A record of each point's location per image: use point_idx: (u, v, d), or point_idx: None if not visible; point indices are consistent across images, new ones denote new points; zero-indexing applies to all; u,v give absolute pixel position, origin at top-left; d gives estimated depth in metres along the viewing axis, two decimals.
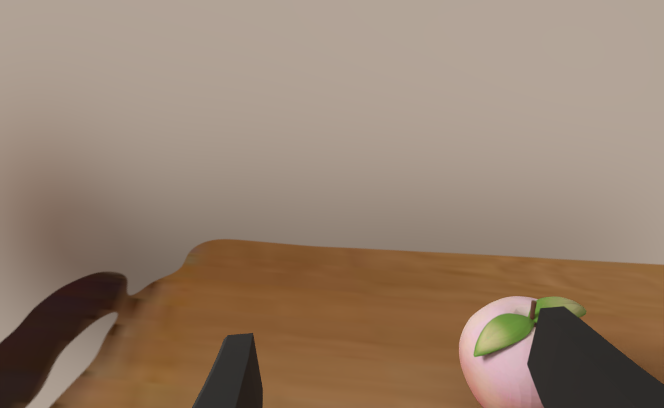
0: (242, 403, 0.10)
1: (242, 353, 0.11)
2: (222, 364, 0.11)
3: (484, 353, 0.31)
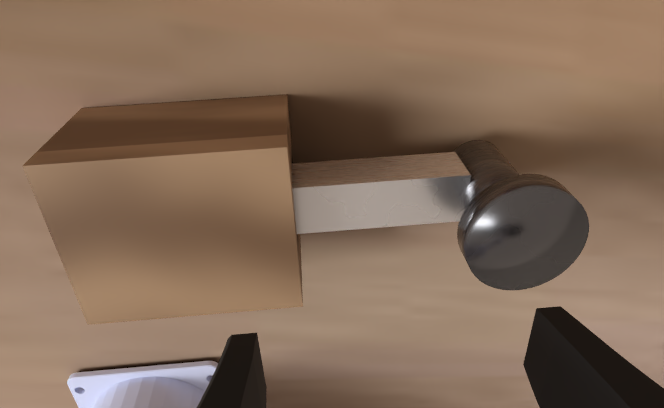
0: (246, 403, 0.10)
1: (246, 353, 0.11)
2: (226, 364, 0.11)
3: None
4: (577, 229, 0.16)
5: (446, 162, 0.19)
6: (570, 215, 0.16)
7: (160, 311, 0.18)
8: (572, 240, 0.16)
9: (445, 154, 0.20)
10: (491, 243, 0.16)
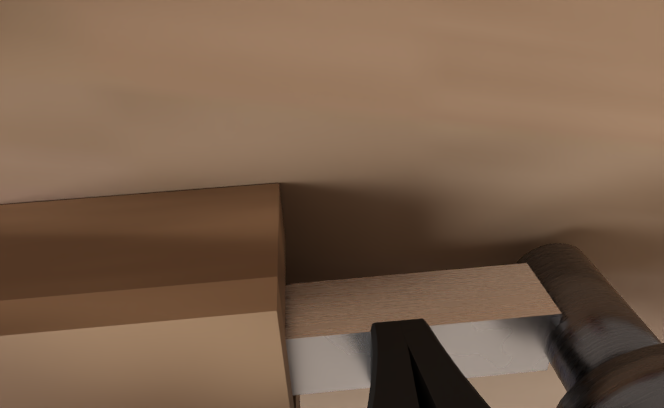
0: None
1: (398, 339, 0.11)
2: (383, 349, 0.11)
3: None
4: None
5: (519, 286, 0.13)
6: None
7: None
8: None
9: (514, 268, 0.13)
10: None
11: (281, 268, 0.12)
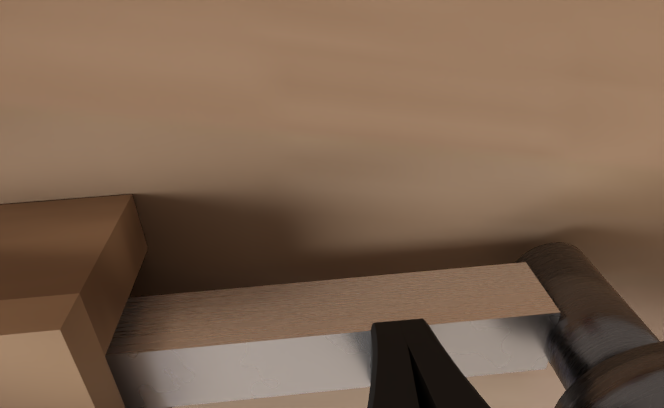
0: None
1: (398, 339, 0.11)
2: (383, 349, 0.11)
3: None
4: None
5: (517, 285, 0.13)
6: None
7: None
8: None
9: (513, 267, 0.13)
10: None
11: (110, 282, 0.11)
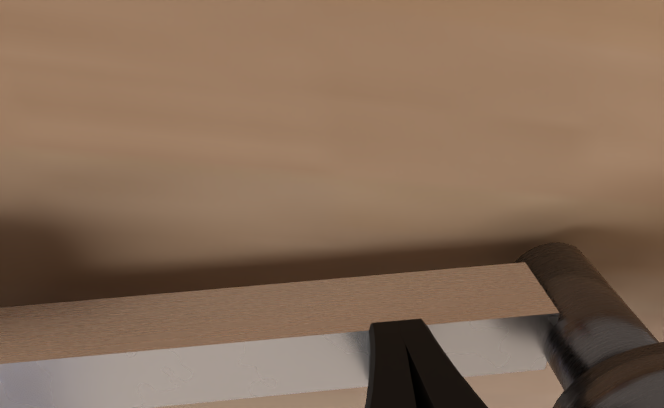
0: None
1: (396, 339, 0.11)
2: (381, 350, 0.11)
3: None
4: None
5: (516, 285, 0.13)
6: None
7: None
8: None
9: (512, 267, 0.13)
10: None
11: None
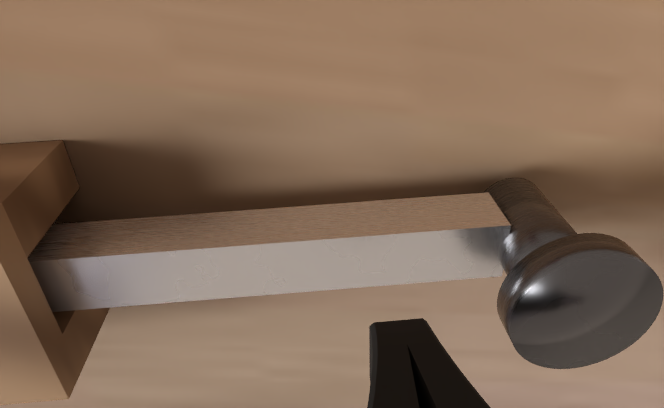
0: None
1: (398, 339, 0.11)
2: (383, 349, 0.11)
3: None
4: (648, 301, 0.13)
5: (479, 207, 0.16)
6: (640, 285, 0.13)
7: None
8: (642, 314, 0.13)
9: (477, 196, 0.16)
10: (542, 318, 0.13)
11: (34, 203, 0.14)
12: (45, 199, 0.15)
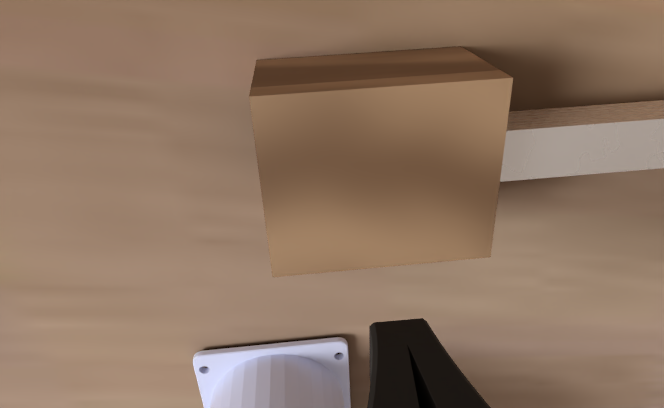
0: None
1: (398, 339, 0.11)
2: (383, 349, 0.11)
3: None
4: None
5: None
6: None
7: (348, 262, 0.18)
8: None
9: None
10: None
11: None
12: None
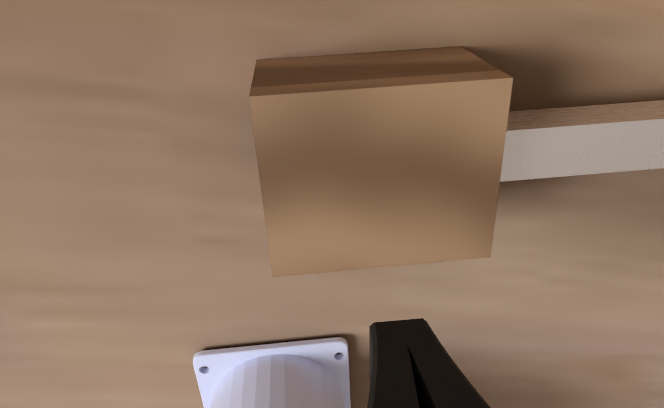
0: None
1: (398, 339, 0.11)
2: (383, 349, 0.11)
3: None
4: None
5: None
6: None
7: (348, 262, 0.18)
8: None
9: None
10: None
11: None
12: None
